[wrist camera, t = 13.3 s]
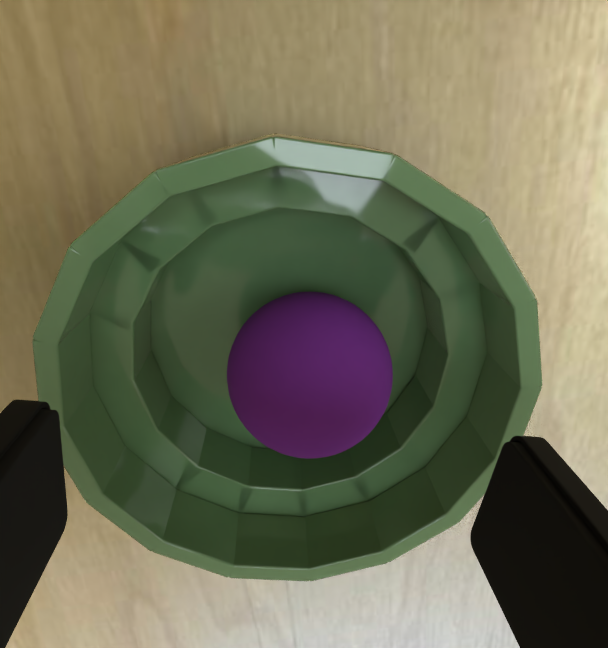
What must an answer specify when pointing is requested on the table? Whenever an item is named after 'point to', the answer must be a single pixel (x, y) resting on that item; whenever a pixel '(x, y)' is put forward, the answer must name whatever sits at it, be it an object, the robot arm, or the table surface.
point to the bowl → (226, 321)
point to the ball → (309, 375)
